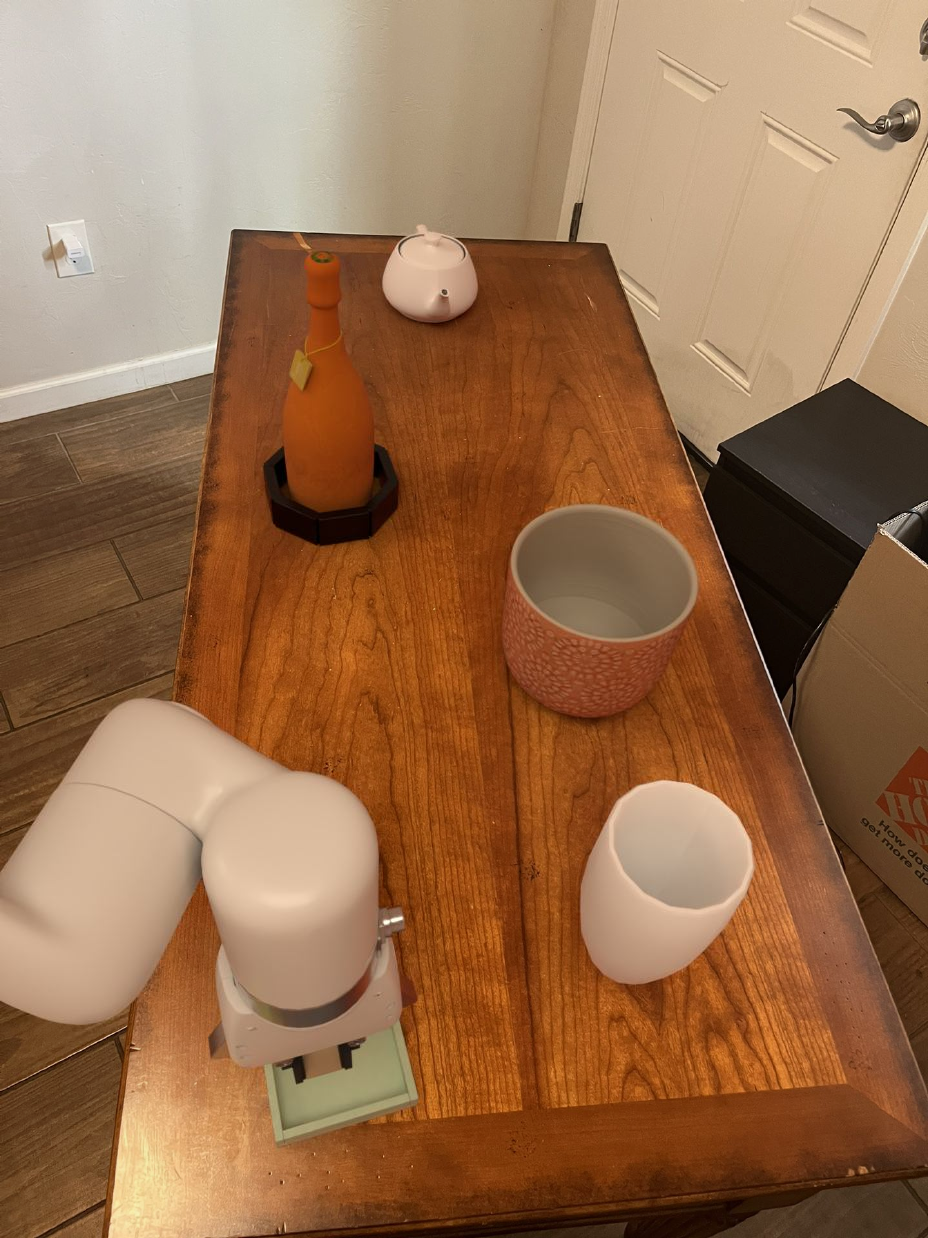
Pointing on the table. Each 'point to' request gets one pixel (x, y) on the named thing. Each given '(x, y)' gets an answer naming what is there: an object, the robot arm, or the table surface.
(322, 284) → the wine bottle
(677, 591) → the planter
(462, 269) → the teapot
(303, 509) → the bottle stand
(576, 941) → the table surface
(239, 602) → the table surface
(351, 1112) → the tray
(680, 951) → the cup
